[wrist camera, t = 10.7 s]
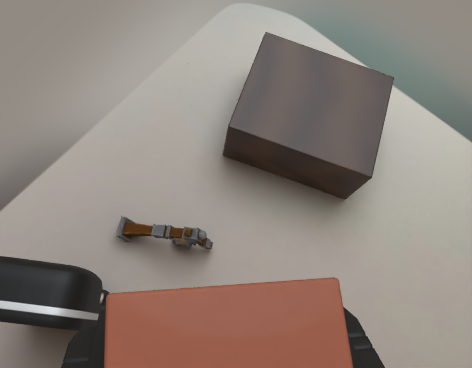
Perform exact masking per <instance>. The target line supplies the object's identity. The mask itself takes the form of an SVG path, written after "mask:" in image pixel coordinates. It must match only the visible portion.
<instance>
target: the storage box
mask: <svg viewBox="0 0 472 368" xmlns="http://www.w3.org/2000/svg"><path fill="white" fill-rule="evenodd" d="M393 80H394V77H392V76H389V75H386V74H383V73H380V72H378V71H375V70H372V69H369V68H366V67H363V66H361V65H358V64H355V63H352V62H349V61H346V60H344V59H341V58H338V57H335V56H332V55H330V54H327V53H324V52H321V51H318V50H315V49H313V48H310V47H307V46H304V45H301V44H298V43H296V42H293V41H290V40H287V39H284V38H281V37H279V36H276V35H273V34H270V33H267V32H265V34H264V37H263V39H262V42H261V45H260V47H259V50H258V52H257V55H256V57H255V60H254V62H253V65H252V67H251V70H250V72H249V75H248V77H247V80H246V82H245V85H244V87H243V90H242V93H241V95H240V98H239V100H238V103H237V105H236V108H235V110H234V113H233V115H232V118H231V120H230V123H229V125H228V130H227V135H226V140H225V145H224V150H223V155H224V156H227V157H229V158H232V159H235V160H238V161H241V162H243V163H246V164H249V165H252V166H255V167H257V168H260V169H263V170H266V171H269V172H271V173H274V174H277V175H280V176H283V177H285V178H288V179H291V180H294V181H296V182H299V183H302V184H305V185H308V186H310V187H313V188H316V189H319V190H322V191H324V192H327V193H330V194H333V195H336V196H338V197H341V198H344V199H347V198H348V197H349V196H350V195H351V194H353V193H354V192H355V191H356V190H357V189H359V188H360V187H361V186H362V185H363V184H365V183H366V182H367V181H368V180H369V179H371V178H372V174H373V170H374V165H375V161H376V156H377V152H378V147H379V143H380V138H381V134H382V129H383V125H384V121H385V116H386V112H387V107H388V103H389V98H390V94H391V89H392V85H393Z"/></svg>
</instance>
